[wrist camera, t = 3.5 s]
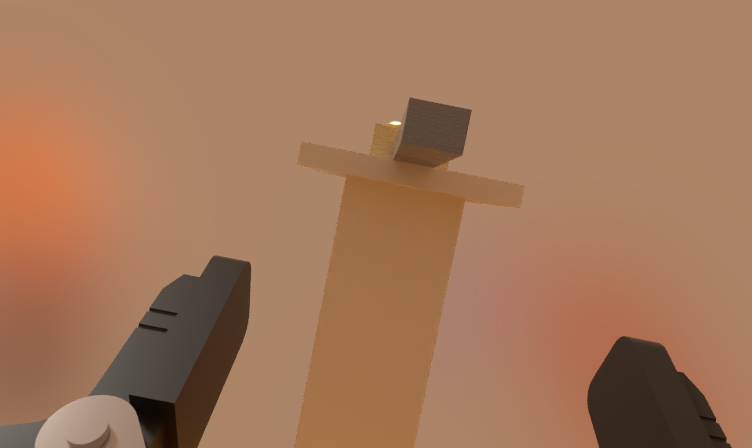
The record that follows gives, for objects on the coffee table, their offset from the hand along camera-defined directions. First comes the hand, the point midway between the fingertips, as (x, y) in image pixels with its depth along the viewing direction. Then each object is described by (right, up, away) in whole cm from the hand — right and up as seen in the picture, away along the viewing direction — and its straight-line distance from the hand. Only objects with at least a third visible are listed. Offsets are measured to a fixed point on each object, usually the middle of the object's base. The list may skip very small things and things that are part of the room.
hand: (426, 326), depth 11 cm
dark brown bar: (+1, +6, +18) cm, 19 cm away
